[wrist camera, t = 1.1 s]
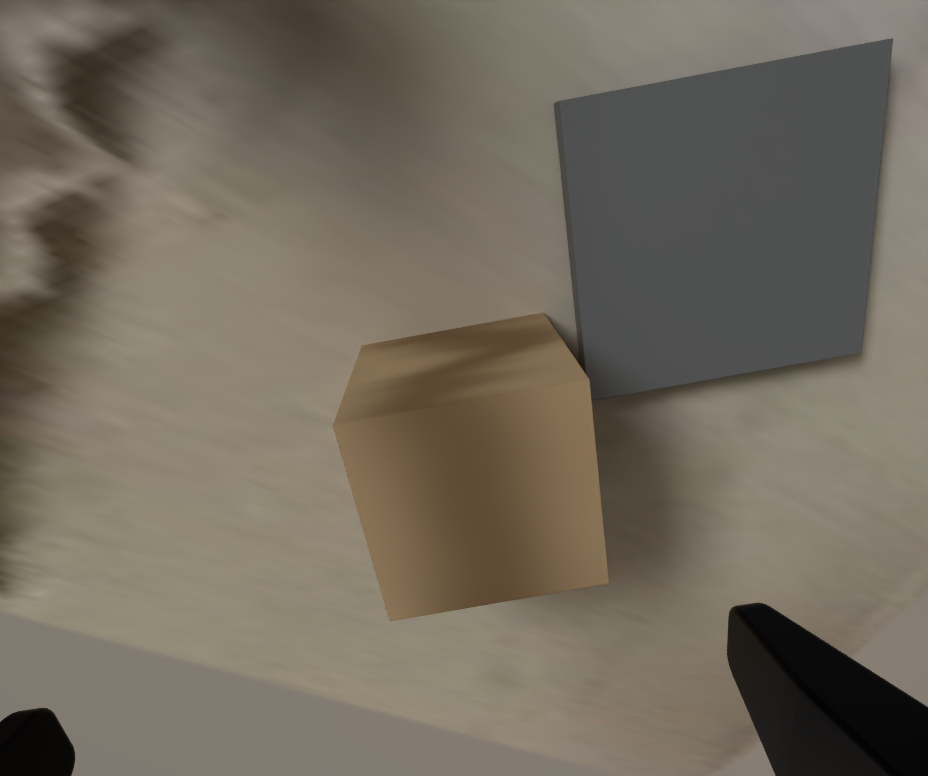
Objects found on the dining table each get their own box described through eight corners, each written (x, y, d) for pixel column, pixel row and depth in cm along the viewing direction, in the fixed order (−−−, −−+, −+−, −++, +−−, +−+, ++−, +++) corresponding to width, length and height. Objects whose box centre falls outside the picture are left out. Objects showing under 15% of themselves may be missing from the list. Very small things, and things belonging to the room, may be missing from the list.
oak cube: (543, 311, 19) (589, 379, 13) (562, 469, 21) (609, 583, 16) (362, 344, 19) (332, 425, 13) (401, 498, 21) (389, 621, 16)
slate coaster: (871, 43, 16) (892, 38, 15) (845, 344, 20) (861, 352, 19) (553, 103, 16) (559, 101, 16) (583, 391, 20) (588, 401, 19)
